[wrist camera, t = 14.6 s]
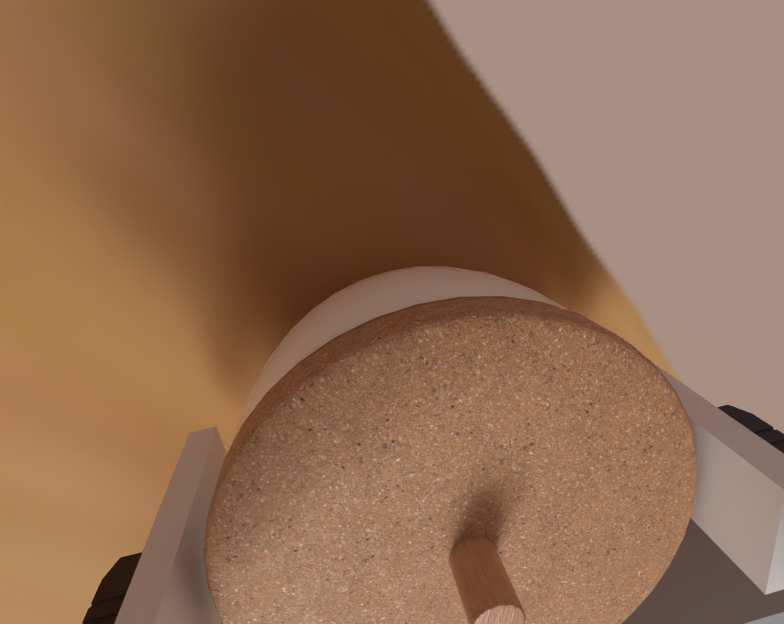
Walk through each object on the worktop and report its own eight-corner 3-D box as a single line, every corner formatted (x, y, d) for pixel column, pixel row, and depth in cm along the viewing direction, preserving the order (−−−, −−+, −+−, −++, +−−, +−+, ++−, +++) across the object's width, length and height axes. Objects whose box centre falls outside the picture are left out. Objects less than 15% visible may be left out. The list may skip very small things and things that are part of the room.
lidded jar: (245, 497, 18) (189, 840, 9) (250, 211, 14) (164, 339, 6) (510, 491, 20) (665, 766, 11) (573, 240, 16) (871, 366, 8)
